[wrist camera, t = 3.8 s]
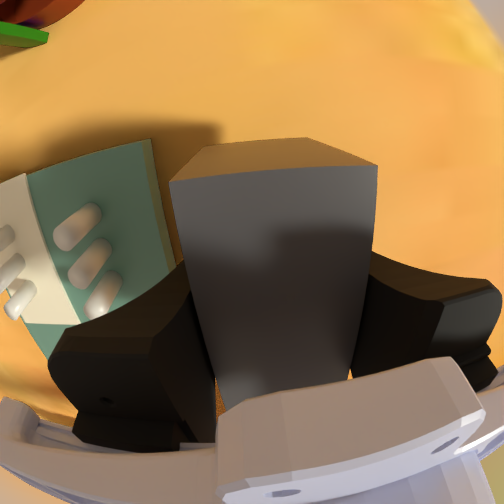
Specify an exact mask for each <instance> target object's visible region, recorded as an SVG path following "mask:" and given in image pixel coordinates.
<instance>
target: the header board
mask: <svg viewBox="0 0 504 504" xmlns="http://www.w3.org/2000/svg"><path fill="white" fill-rule="evenodd" d="M175 268H176V263H175V259H174V255H173V251H172V246H171V242H170V238H169V233H168V229H167V224H166V220H165V215H164V210H163V205H162V200H161V195H160V190H159V185H158V179H157V174H156V168H155V162H154V156H153V150H152V144H151V138H150V139H145V140H140V141H136V142H131V143H127V144H123V145H119V146H115V147H111V148H107V149H103V150H100V151H96V152H93V153H89V154H86V155H82V156H79V157H76V158H73V159H69V160H66V161H63V162H60V163H57V164H54V165H52V166H49V167H46V168H43V169H40V170H38V171H35V172H33V173H30V174H27V175H26V173H23V174H21V175H18V176H16V177H14V178H11V179H9V180H7V181H5V182H2V183H0V294H1V293H2V292H3V291H4V290H5V289H6V290H7V292H8V294H9V296H10V299H9V300H8V301H7V303H6V304H5V305H4V311H5V313H6V314H7V315H8V317H9V318H11V319H12V320H17V318H18V317H19V316H20V317H21V318H22V320H23V322H24V324H25V325H26V327H27V329H28V330H29V332H30V334H31V335H32V337H33V338H34V340H35V342H36V343H37V345H38V346H39V348H40V349H41V351H42V352H43V354H44V355H45V357H46V358H47V359H49V357H50V355H51V353H52V351H53V350H54V348H55V346H56V344H57V342H58V341H59V339H60V337H61V335H62V334H63V332H64V330H65V329H66V328H69V327H72V326H75V325H78V324H81V323H84V322H87V321H90V320H92V319H95V318H97V317H100V316H102V315H104V314H107V313H109V312H111V311H113V310H115V309H117V308H119V307H121V306H123V305H125V304H126V303H128V302H130V301H131V300H133V299H135V298H137V297H138V296H140V295H142V294H143V293H145V292H146V291H147V290H149V289H150V288H152V287H153V286H154V285H156V284H157V283H158V282H160V281H161V280H162V279H163V278H164V277H166V276H167V275H168V274H169V273H170V272H171V271H172V270H174V269H175Z"/></svg>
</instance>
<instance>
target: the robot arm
mask: <svg viewBox="0 0 504 504" xmlns="http://www.w3.org/2000/svg"><path fill="white" fill-rule="evenodd" d="M501 308H502V295H501V293H500V291H499V290H498V289H497V288H496V287H495V286H494V285H493V284H492V283H491V282H490V281H488V280H487V279H477V278H464V277H456V276H450V275H443V274H438V273H434V272H429V271H426V270H422V269H418V268H414V267H411V266H408V265H405V264H402V263H399V262H396V261H394V260H391V259H389V258H386V257H384V256H382V255H379V254H377V253H375V252H373V251H371V259H370V267H369V274H368V281H367V287H366V294H365V300H364V305H363V311H362V316H361V321H360V326H359V331H358V336H357V341H356V345H355V350H354V354H353V358H352V362H351V366H350V369H351V373H352V377H353V379H349V380H344V381H340V382H334V383H329V384H324V385H318V386H312V387H306V388H299V389H292V390H285V391H278V392H274V393H270V394H266V395H262V396H258V397H254V398H249V399H245V400H244V401H242V402H241V403H239V404H238V405H236V406H234V407H233V408H231V409H229V410H228V411H226V412H225V413H223V414H222V415H220V416H218V421H217V423H216V399H215V374H214V371H213V368H212V365H211V361H210V358H209V355H208V351H207V348H206V344H205V341H204V337H203V333H202V330H201V326H200V323H199V319H198V315H197V311H196V307H195V304H194V300H193V296H192V292H191V288H190V283H189V279H188V275H187V271H186V267H185V262H184V260H183V261H182V262H181V263H180V264H179V265H178V266H177V267H176V268H175V269H174V270H172V271H171V272H170V273H169V274H168V275H167V276H166V277H164V278H163V279H162V280H161V281H160V282H158V283H157V284H156V285H154V286H153V287H152V288H150V289H149V290H147V291H146V292H145V293H143V294H142V295H140V296H138V297H137V298H135V299H133V300H131V301H130V302H128V303H126V304H125V305H123V306H121V307H119V308H117V309H115V310H113V311H111V312H109V313H107V314H104V315H102V316H100V317H97V318H95V319H92V320H90V321H87V322H84V323H81V324H78V325H75V326H72V327H69V328H66V329H65V330H64V332H63V334H62V335H61V337H60V339H59V341H58V342H57V344H56V346H55V348H54V350H53V351H52V353H51V355H50V357H49V359H48V370H49V372H50V375H51V377H52V379H53V381H54V382H55V384H56V385H57V386H58V388H59V389H60V390H61V391H62V393H63V394H64V395H65V396H66V397H67V398H68V400H69V401H70V402H71V403H72V404H73V405H74V406H75V408H76V409H77V410H78V414H77V417H76V420H75V423H74V426H73V427H69V426H65V425H61V424H57V423H54V422H50V421H47V420H43V419H40V418H39V416H38V415H37V414H36V413H35V412H34V411H33V410H32V409H31V408H30V407H29V406H28V405H26V404H25V403H22V402H20V401H17V400H14V399H11V398H8V397H3V398H2V401H1V403H0V466H2V467H3V468H5V469H6V470H7V471H9V472H10V473H12V474H13V475H15V476H16V477H18V478H19V479H21V480H23V481H24V482H26V483H28V484H29V485H31V486H33V487H35V488H37V489H39V490H41V491H43V492H46V493H48V494H50V495H52V496H54V497H57V498H59V499H61V500H63V501H66V502H68V503H71V504H496V503H495V500H494V497H493V494H492V491H491V489H490V486H489V483H488V481H487V478H486V476H485V473H484V471H483V468H482V466H481V464H480V461H481V460H482V459H484V458H485V457H486V456H488V455H489V454H491V453H492V452H493V451H495V450H496V449H497V448H499V447H500V446H501V445H503V444H504V365H502V366H500V367H499V368H497V369H496V367H495V366H494V365H493V363H492V362H491V360H490V359H489V357H488V355H489V354H490V353H491V349H490V348H489V346H488V345H487V344H486V342H487V340H488V338H489V337H490V335H491V333H492V331H493V329H494V327H495V325H496V323H497V320H498V318H499V315H500V313H501Z"/></svg>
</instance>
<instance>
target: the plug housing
mask: <svg viewBox="0 0 504 504" xmlns="http://www.w3.org/2000/svg"><path fill="white" fill-rule="evenodd" d="M377 171H378V165H375V164H373V163H371V162H369V161H366V160H364V159H362V158H359V157H357V156H354V155H352V154H350V153H347V152H345V151H342V150H339V149H337V148H334V147H332V146H329V145H326V144H324V143H321V142H318V141H315V140H313V139H310V138H285V139H269V140H257V141H246V142H236V143H227V144H218V145H210V146H204V147H203V148H202V149H201V150H200V151H199V152H198V153H197V154H196V155H195V156H193V157H192V158H191V159H190V160H189V161H188V162H187V163H186V164H185V165H184V166H183V167H182V168H181V169H180V170H179V172H178V173H177V174H176V175H175V176H174V177H173V178H172V179H171V180H170V181H169V182H168V183H169V189H170V194H171V200H172V205H173V210H174V215H175V220H176V225H177V230H178V235H179V240H180V244H181V249H182V253H183V258H184V262H185V267H186V271H187V275H188V279H189V283H190V288H191V292H192V296H193V300H194V304H195V307H196V311H197V315H198V319H199V323H200V326H201V330H202V333H203V337H204V341H205V344H206V348H207V351H208V355H209V358H210V361H211V365H212V368H213V371H214V374H215V378H216V381H217V384H218V387H219V390H220V393H221V397H222V400H223V403H224V406H225V409H226V411H228V410H229V409H231V408H233V407H234V406H236V405H238V404H239V403H241V402H242V401H244V400H245V399H249V398H254V397H258V396H262V395H266V394H270V393H274V392H278V391H285V390H292V389H299V388H306V387H312V386H318V385H324V384H329V383H334V382H340V381H344V380H347V378H348V374H349V370H350V366H351V362H352V358H353V354H354V350H355V345H356V341H357V336H358V331H359V326H360V321H361V316H362V311H363V305H364V300H365V294H366V287H367V281H368V274H369V267H370V259H371V251H372V243H373V233H374V222H375V210H376V194H377Z"/></svg>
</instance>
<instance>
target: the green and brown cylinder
mask: <svg viewBox="0 0 504 504" xmlns="http://www.w3.org/2000/svg"><path fill="white" fill-rule="evenodd" d="M83 1H85V0H0V45H7V46H15V47H23V48H28V47H35V46H39V45H42V44H44V43H47V40H48V35H49V33H48V32H44V31H40V30H37V29H40V28H43V27H46V26H48V25H51V24H53V23H55V22H57V21H58V20H60V19H62V18H63V17H65V16H66V15H68V14H69V13H70V12H72V11H73V10H74V9H75V8H77V7H78V6H79V5H80V4H81V3H82V2H83Z"/></svg>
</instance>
